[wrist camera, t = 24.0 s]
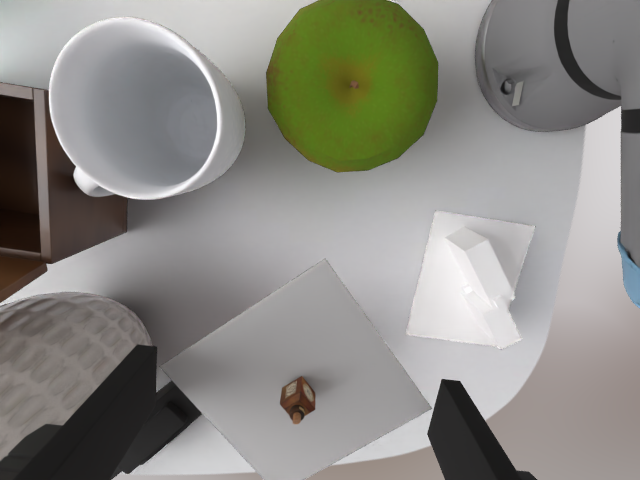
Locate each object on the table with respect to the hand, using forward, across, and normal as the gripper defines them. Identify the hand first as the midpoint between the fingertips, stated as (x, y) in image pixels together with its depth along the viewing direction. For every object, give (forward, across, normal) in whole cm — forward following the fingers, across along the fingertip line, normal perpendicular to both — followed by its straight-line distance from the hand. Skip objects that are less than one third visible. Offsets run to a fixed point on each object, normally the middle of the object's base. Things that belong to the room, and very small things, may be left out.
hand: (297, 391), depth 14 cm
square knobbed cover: (0, 0, 0) cm, 0 cm away
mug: (+24, -13, +9) cm, 29 cm away
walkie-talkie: (+22, -10, -18) cm, 31 cm away
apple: (+24, +2, +14) cm, 28 cm away
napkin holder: (+24, +18, -2) cm, 31 cm away
